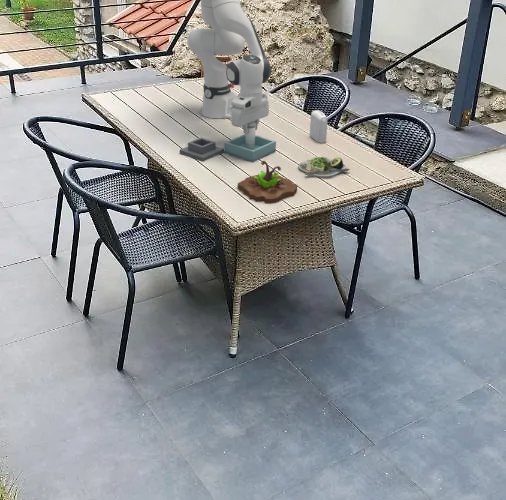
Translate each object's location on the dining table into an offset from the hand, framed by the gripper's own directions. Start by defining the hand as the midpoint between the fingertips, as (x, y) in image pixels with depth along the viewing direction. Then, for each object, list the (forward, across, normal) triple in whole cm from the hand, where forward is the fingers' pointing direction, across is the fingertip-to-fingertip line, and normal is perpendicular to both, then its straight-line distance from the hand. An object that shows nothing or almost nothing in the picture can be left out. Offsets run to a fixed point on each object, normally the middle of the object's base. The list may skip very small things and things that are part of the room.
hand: (250, 131), depth 266 cm
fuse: (+6, 0, 0) cm, 6 cm away
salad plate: (+10, -6, +33) cm, 34 cm away
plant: (+10, +24, +28) cm, 38 cm away
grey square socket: (+9, +13, -14) cm, 22 cm away
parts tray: (+9, 0, 0) cm, 9 cm away
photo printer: (+9, -32, +12) cm, 35 cm away
